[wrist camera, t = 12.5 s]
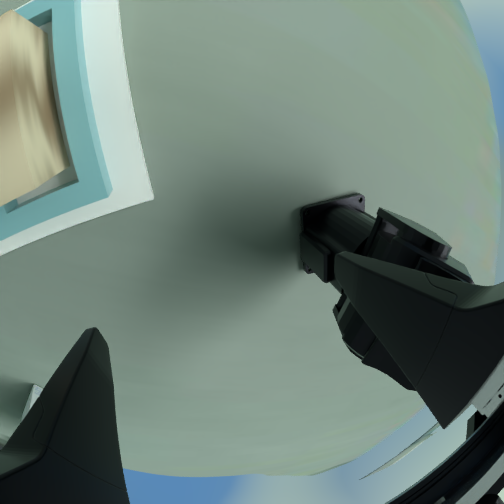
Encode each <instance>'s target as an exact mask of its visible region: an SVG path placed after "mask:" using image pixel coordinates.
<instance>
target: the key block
mask: <svg viewBox="0 0 504 504" xmlns="http://www.w3.org/2000/svg"><path fill="white" fill-rule="evenodd" d="M69 166H70V163H69V160H68V156H67V152H66V148H65V144H64V140H63V136H62V132H61V127H60V123H59V118H58V113H57V107H56V102H55V96H54V90H53V83H52V75H51V67H50V57H49V45H48V34H47V33H46V32H44V31H43V30H41V29H40V28H39V27H37V26H36V25H34V24H33V23H31V22H30V21H28V20H27V19H25V18H24V17H22V16H21V15H19V14H18V13H16V12H15V11H13V10H12V9H11V10H9V11H8V12H6V13H4V14H3V15H1V16H0V207H1V206H3V205H4V204H6V203H8V202H10V201H12V200H14V199H16V198H18V197H20V196H22V195H24V194H26V193H28V192H30V191H32V190H34V189H36V188H37V187H39V186H40V185H42V184H43V183H45V182H46V181H48V180H49V179H51V178H52V177H54V176H55V175H57V174H58V173H60V172H61V171H63V170H65V169H66V168H68V167H69Z"/></svg>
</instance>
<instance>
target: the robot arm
mask: <svg viewBox="0 0 504 504" xmlns="http://www.w3.org/2000/svg"><path fill="white" fill-rule="evenodd" d="M359 198H360V200H359ZM358 200H359V201H358ZM307 210H308V213H307V214H306V215H305V212H306V211H307ZM364 210H365V197H364V196H363V195H362V194H360V193H358V194H353V195H349V196H345V197H341V198H336V199H332V200H328V201H324V202H320V203H316V204H311V205H307V206H304V207H303V208H302V209H301V211H300V216H301V230H302V232H301V233H300V246H301V259H302V260H303V266H304V271H305V272H306V273H307V274H311V273H315V274H316V275H317V276H318V277H319V278H320V279H321V280H322V281H323V282H325V283H328V282H330V283H331V284H332V285H333V286H334V287H335V288H336V289H337V290H338V291H339V292H340V293H341V294H342V295H341V297H340V299H339V301H338V303H337V304H336V305H335V306H334V308H333V313H334V316H335V318H336V321H337V323H338V326H339V329H340V331H341V334H342V339H343V341H344V343H345V344H346V346H347V347H348V349H349V350H350V352H352V353H353V354H354V355H355V356H357V357H358V358H360V359H361V360H362V361H361V362H362V363H363V364H365V365H367V366H370V367H373V368H376V369H378V370H380V371H381V372H383V373H385V374H387V375H388V376H390V377H391V378H393V379H394V380H395V381H397V382H398V383H399V384H400V385H402V386H403V387H404V388H406V389H408V390H413V391H417V392H418V393H419V395H420V396H421V398H422V399H423V401H424V402H425V403H426V405H427V406H428V407H429V409H430V411H431V412H432V414H433V415H434V416H435V418H436V419H437V421H438V422H439V424H440V425H441V427H442V428H443V429H445V428H446V427H448V426H449V425H450V424H451V423H452V422H453V421H454V420H455V419H457V418H458V417H459V416H460V415H461V414H462V413H463V412H464V411H465V410H466V409H467V408H468V407H469V406H470V405H471V404H473V405H474V406H475V408H477V411H476V412H475V413H474V415H472V417H471V418H470V419H469V420H468V423H467V435H466V441H465V442H464V443H463V444H462V445H461V446H460V447H459V448H458V449H456V450H455V451H454V452H453V453H452V454H451V455H450V456H449V457H448V458H446V459H445V460H444V461H443V462H442V463H441V464H439V465H438V466H437V467H436V468H434V469H433V470H432V471H431V472H429V473H428V474H427V475H426V476H424V477H423V478H422V479H420V480H419V481H418V482H416V483H415V484H414V485H412V486H411V487H409V488H408V489H406V490H405V491H404V492H402V493H401V494H399V495H398V496H396V497H395V498H393V499H392V500H390V501H388V502H387V503H385V504H504V503H503V501H502V500H501V498H500V497H499V496H498V495H497V494H498V493H499V492H500V491H501V490H502V489H503V488H504V282H502V283H500V284H497V285H494V286H480V285H475V284H474V282H473V280H472V278H471V276H470V274H469V272H468V270H467V268H466V267H465V265H464V264H462V263H461V262H459V261H457V260H456V259H454V258H453V257H451V256H449V253H450V251H451V249H452V247H451V246H450V245H449V244H448V243H447V242H445V241H444V240H443V239H442V238H441V237H439V236H438V235H437V234H436V233H434V232H433V231H431V230H429V229H427V228H425V227H423V226H422V225H420V224H418V223H416V222H414V221H412V220H410V219H407V218H405V217H402V216H400V215H398V214H395V213H393V212H390V211H388V210H385V209H383V208H380V207H379V209H378V212H377V218H374V217H373V216H371V215H369V214H367V213H366V212H364ZM309 267H310V269H308V268H309ZM39 396H40V397H38V398H37V399H36V401H35V403H34V404H33V406H32V407H31V409H30V410H29V412H28V413H27V415H26V416H25V418H24V419H23V420H22V422H21V423H20V425H19V426H18V427H17V429H16V430H15V432H14V433H13V434H12V436H11V437H10V439H9V440H8V442H7V443H6V445H5V446H4V447H3V448H2V449H1V450H0V504H130V502H129V498H128V493H127V492H126V491H127V489H126V484H125V480H124V474H123V468H122V462H121V455H120V449H119V441H118V433H117V423H116V412H115V399H114V384H113V377H112V370H111V363H110V355H109V348H108V345H107V343H106V341H105V339H104V338H103V336H102V335H101V333H100V332H99V330H98V329H97V328H96V327H93V328H89V329H86V330H85V331H84V333H83V334H82V335H81V337H80V338H79V339H78V341H77V342H76V343H75V345H74V346H73V347H72V349H71V350H70V351H69V353H68V354H67V356H66V357H65V358H64V360H63V361H62V363H61V364H60V365H59V367H58V368H57V370H56V371H55V373H54V374H53V375H52V377H51V378H50V380H49V381H48V383H47V384H46V386H45V387H44V389H43V390H42V392H41V393H40V395H39Z"/></svg>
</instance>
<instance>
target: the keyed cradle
mask: <svg viewBox="0 0 504 504" xmlns="http://www.w3.org/2000/svg"><path fill="white" fill-rule="evenodd" d="M14 11H15V12H16V13H18V14H19V15H21V16H22V17H24V18H25V19H27V20H28V21H30V22H31V23H33V24H34V25H36V26H37V27H39V28H40V29H41V30H43V31H44V32H46V33H47V34H48V45H49V57H50V67H51V75H52V83H53V90H54V96H55V102H56V107H57V113H58V118H59V123H60V127H61V132H62V136H63V140H64V144H65V148H66V152H67V156H68V160H69V163H70V166H69V167H68V168H66V169H65V170H63V171H61V172H60V173H58V174H57V175H55V176H54V177H52V178H51V179H49V180H48V181H46V182H45V183H43V184H42V185H40V186H39V187H37V188H36V189H34V190H32V191H30V192H28V193H26V194H24V195H22V196H20V197H18V198H16V199H14V200H12V201H10V202H8V203H6V204H4V205H3V206H1V207H0V256H1V255H3V254H5V253H7V252H10V251H12V250H14V249H16V248H19V247H21V246H23V245H26V244H28V243H31V242H33V241H35V240H38V239H40V238H43V237H45V236H48V235H50V234H53V233H55V232H58V231H61V230H63V229H66V228H69V227H71V226H74V225H77V224H80V223H82V222H85V221H88V220H91V219H94V218H97V217H99V216H102V215H105V214H108V213H111V212H114V211H117V210H120V209H124V208H127V207H130V206H133V205H136V204H140V203H143V202H146V201H150V200H153V199H154V194H153V190H152V186H151V182H150V178H149V174H148V170H147V166H146V162H145V158H144V154H143V150H142V145H141V141H140V136H139V132H138V127H137V122H136V117H135V113H134V107H133V102H132V97H131V91H130V86H129V80H128V74H127V67H126V61H125V54H124V46H123V38H122V30H121V21H120V10H119V0H32V1H30V2H28V3H26V4H24V5H23V6H21V7H19V8H17V9H16V10H14Z"/></svg>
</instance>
